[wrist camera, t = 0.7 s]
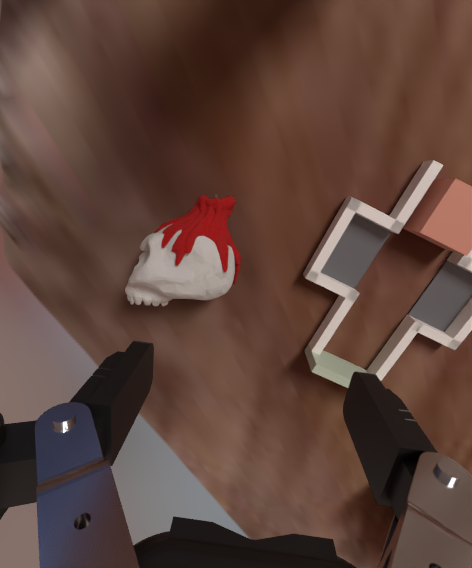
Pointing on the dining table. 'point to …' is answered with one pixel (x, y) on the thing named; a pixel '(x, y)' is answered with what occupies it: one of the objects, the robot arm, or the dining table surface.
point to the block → (444, 216)
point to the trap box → (352, 266)
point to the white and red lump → (187, 257)
